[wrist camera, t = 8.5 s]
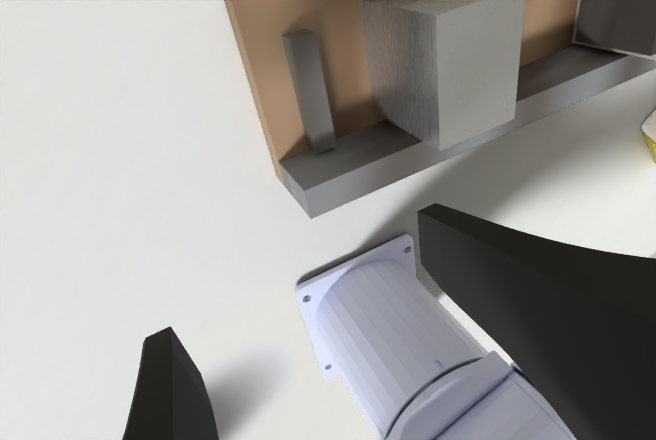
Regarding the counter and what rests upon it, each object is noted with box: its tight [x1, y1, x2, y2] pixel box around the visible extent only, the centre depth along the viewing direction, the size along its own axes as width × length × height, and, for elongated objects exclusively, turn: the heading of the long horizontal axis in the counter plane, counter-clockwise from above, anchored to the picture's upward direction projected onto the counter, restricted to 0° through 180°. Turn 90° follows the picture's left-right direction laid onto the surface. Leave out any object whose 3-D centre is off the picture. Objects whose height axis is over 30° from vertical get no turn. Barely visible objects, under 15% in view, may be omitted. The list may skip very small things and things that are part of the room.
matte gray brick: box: [359, 0, 525, 151], centre depth 17 cm, size 5×4×5 cm
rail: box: [224, 0, 656, 219], centre depth 19 cm, size 24×8×6 cm, turn 102°
